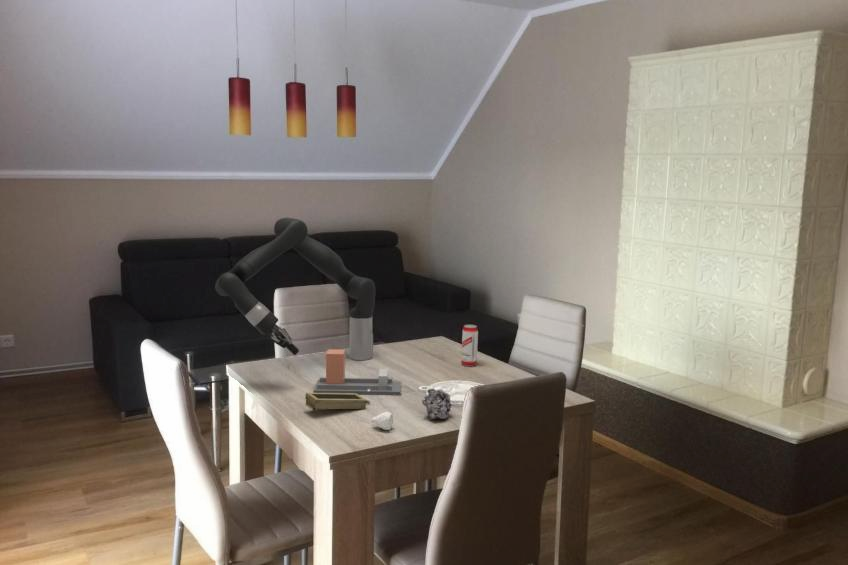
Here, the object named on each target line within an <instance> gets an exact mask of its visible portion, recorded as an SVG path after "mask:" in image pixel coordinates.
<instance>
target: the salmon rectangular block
mask: <svg viewBox="0 0 848 565" xmlns="http://www.w3.org/2000/svg"><path fill="white" fill-rule="evenodd" d="M325 355H326V356H325V365H326V366H325V377H326V384H344V383H345V378H346V377H345V376H346V373H345V372H346V349H334V348H333V349H327V351H326V354H325Z"/></svg>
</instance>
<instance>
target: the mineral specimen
mask: <svg viewBox="0 0 848 565" xmlns="http://www.w3.org/2000/svg"><path fill="white" fill-rule="evenodd" d="M428 393H429V394H428V395H426V394H425V396H424V399H421V402H422V405H423V406H425V408H426V413H427V415H428V420H429V421H432V420H434V419H435V420H436V419H437V418H438V419H443V420H444V419H448V417H449V414H450V412H451V408H452V407H453V406H452V404H451V403H450V395H449V394H447V393H445V392H443V390H442V389H439V390H437V391H436V389H429V390H428Z"/></svg>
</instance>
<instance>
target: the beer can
mask: <svg viewBox="0 0 848 565" xmlns="http://www.w3.org/2000/svg"><path fill="white" fill-rule="evenodd" d="M477 327H478V326H477V325H475V324H464V325H463V328H462V334H461V335H462V337H461V338H462V339H461V359H460V360H461V361H460V363H461V365H462V366H463V367H467V368H469V367H476V365H477V364H478V343H479V341H478V340H479V330H478V328H477Z"/></svg>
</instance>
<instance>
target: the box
mask: <svg viewBox="0 0 848 565" xmlns="http://www.w3.org/2000/svg"><path fill="white" fill-rule="evenodd" d="M304 396H305V398H304V399H305V404H304V405H306V406H307V407H308V408H309V409H311V410H313V411H320V410H327V411H329V412H331V410H349V409H350V410H365V409H366V407H367V405H370V404H371V401H370V400H368V399H367V398H364V397H363V396H361V395H358V394H357V393H314V392H306V393H305V395H304Z"/></svg>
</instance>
